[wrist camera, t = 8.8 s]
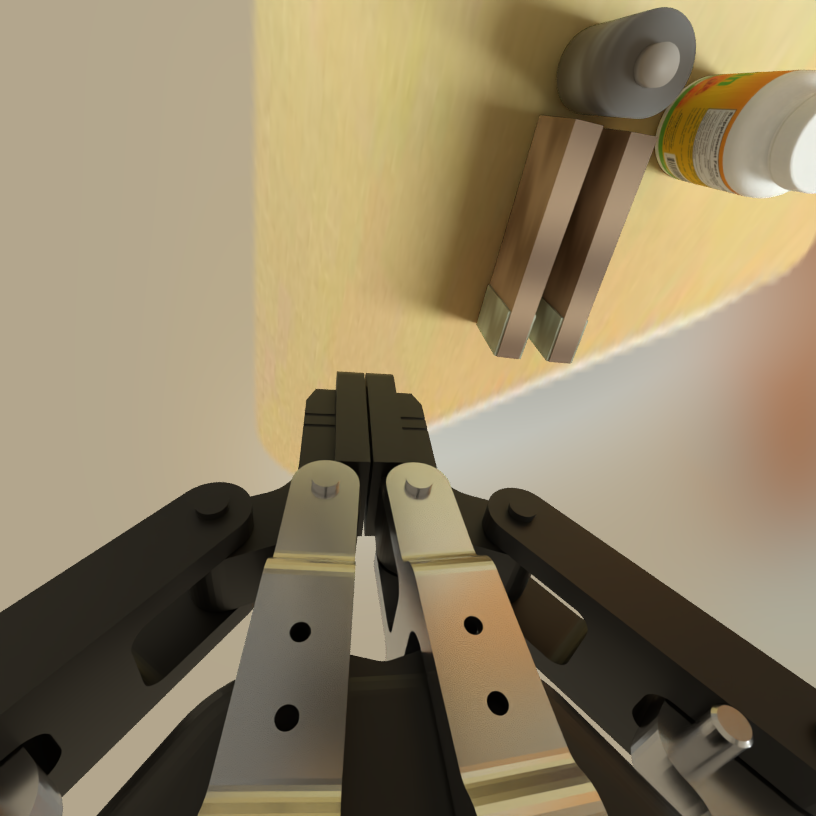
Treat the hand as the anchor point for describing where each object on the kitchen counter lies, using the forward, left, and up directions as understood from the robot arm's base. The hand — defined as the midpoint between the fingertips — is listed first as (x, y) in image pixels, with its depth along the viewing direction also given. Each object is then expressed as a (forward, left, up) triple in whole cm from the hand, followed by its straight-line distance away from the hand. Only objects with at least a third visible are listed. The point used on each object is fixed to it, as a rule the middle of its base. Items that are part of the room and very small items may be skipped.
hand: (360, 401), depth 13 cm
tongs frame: (-3, +13, -20) cm, 24 cm away
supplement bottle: (-8, +20, -20) cm, 29 cm away
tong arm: (-1, +11, -20) cm, 22 cm away
